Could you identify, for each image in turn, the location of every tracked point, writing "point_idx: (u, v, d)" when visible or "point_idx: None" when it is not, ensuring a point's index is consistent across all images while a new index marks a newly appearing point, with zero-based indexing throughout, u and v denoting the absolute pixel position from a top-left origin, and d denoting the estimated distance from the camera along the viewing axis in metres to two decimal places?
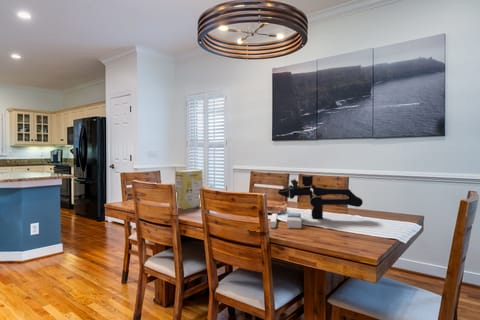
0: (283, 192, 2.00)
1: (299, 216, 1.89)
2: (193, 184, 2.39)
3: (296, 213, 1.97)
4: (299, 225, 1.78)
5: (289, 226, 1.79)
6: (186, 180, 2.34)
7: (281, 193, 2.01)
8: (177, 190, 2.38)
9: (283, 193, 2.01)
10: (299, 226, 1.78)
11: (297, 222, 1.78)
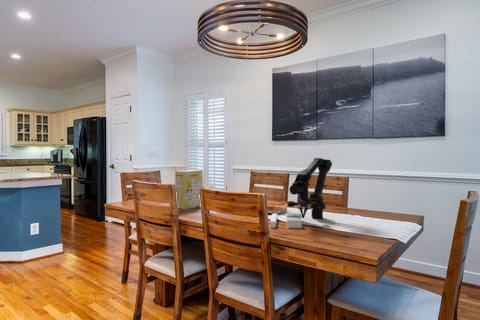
0: (305, 212, 1.92)
1: (298, 216, 1.89)
2: (193, 184, 2.39)
3: (296, 213, 1.97)
4: (299, 225, 1.78)
5: (290, 226, 1.78)
6: (186, 180, 2.34)
7: (304, 214, 1.93)
8: (177, 190, 2.38)
9: None
10: (300, 226, 1.78)
11: (298, 222, 1.78)
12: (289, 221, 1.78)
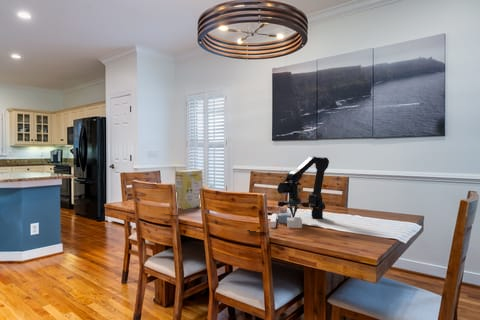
0: (295, 212, 1.93)
1: (289, 216, 1.90)
2: (193, 184, 2.39)
3: (287, 213, 1.97)
4: (300, 225, 1.78)
5: (290, 226, 1.78)
6: (186, 180, 2.34)
7: (294, 214, 1.94)
8: (177, 190, 2.38)
9: (295, 212, 1.94)
10: (300, 226, 1.78)
11: (298, 222, 1.78)
12: (289, 221, 1.78)
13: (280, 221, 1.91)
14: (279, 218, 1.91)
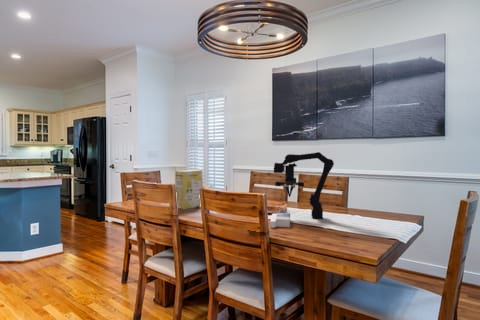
0: (291, 191, 2.07)
1: (288, 216, 1.90)
2: (193, 184, 2.39)
3: (286, 213, 1.97)
4: (287, 224, 1.80)
5: (278, 225, 1.81)
6: (186, 180, 2.34)
7: None
8: (177, 190, 2.38)
9: (291, 191, 2.08)
10: (287, 225, 1.80)
11: (286, 222, 1.80)
12: (277, 220, 1.81)
13: None
14: None
